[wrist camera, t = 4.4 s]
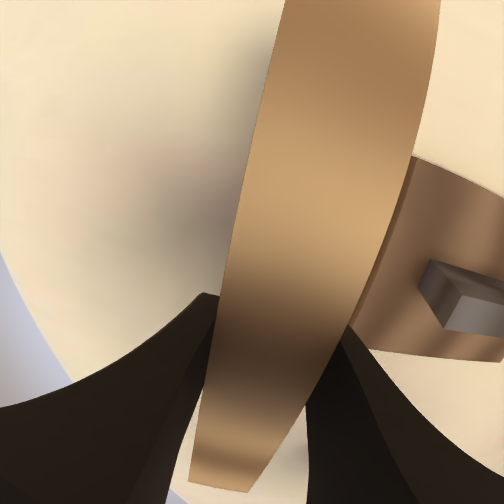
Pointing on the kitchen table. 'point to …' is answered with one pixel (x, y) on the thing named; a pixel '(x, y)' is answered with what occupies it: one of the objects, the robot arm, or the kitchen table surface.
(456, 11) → the kitchen table surface
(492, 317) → the ridge stand
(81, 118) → the kitchen table surface
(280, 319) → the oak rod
